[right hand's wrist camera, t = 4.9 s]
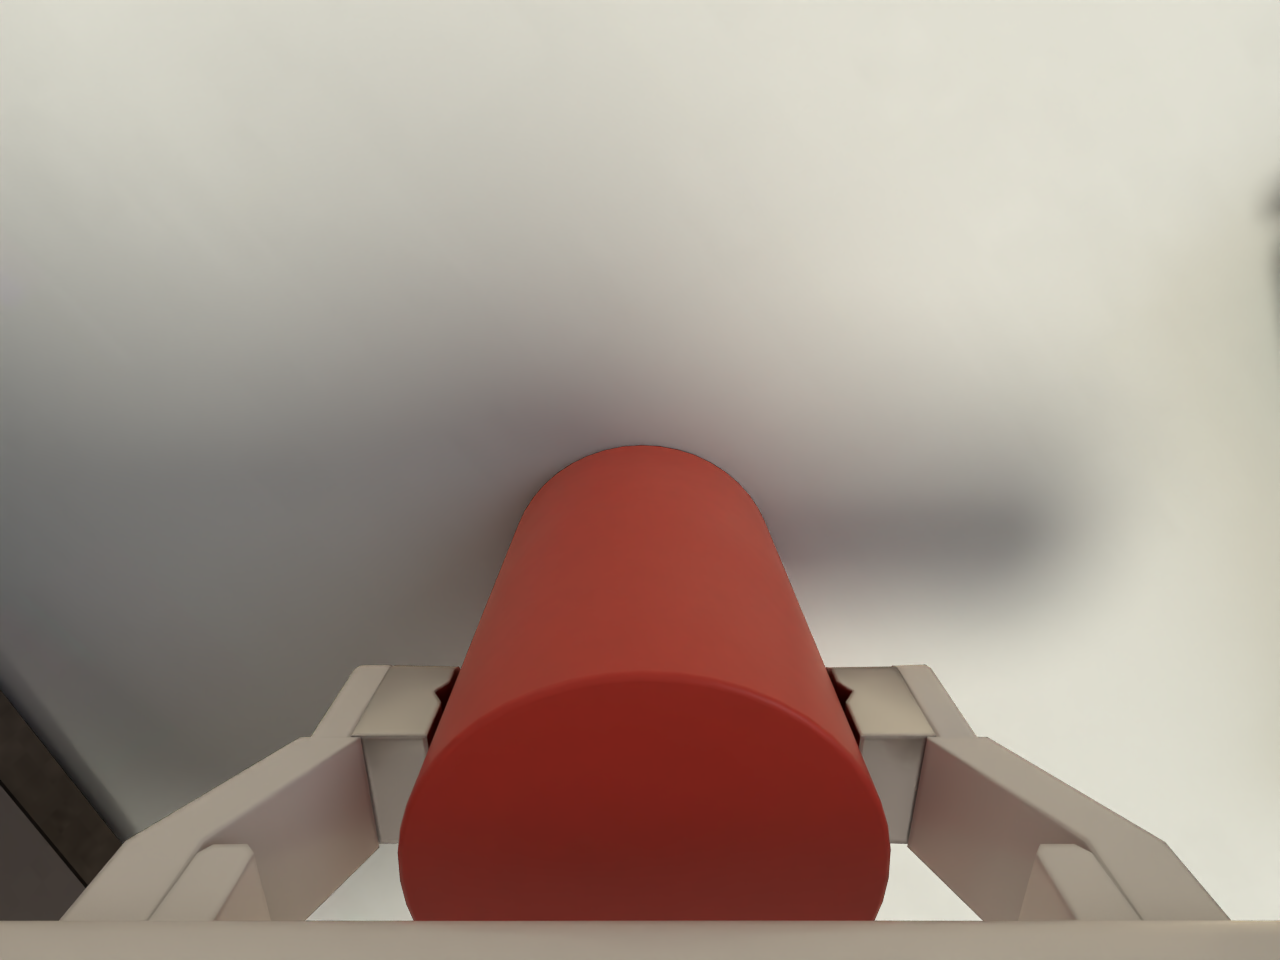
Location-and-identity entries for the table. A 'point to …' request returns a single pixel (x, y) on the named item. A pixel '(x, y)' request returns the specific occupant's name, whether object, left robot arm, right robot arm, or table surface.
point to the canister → (643, 723)
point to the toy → (43, 829)
